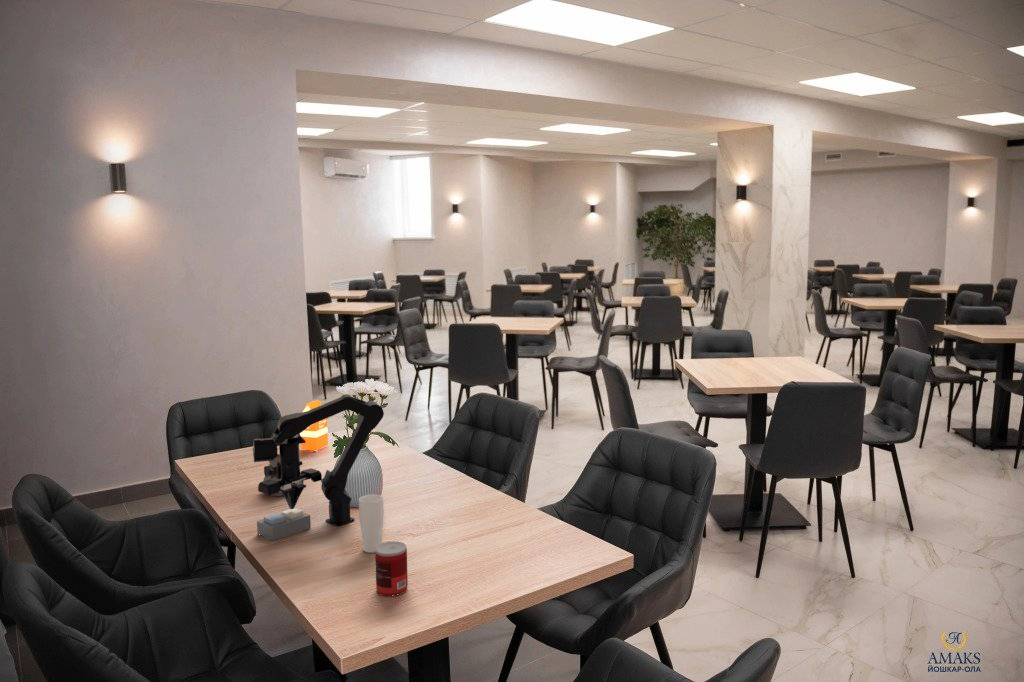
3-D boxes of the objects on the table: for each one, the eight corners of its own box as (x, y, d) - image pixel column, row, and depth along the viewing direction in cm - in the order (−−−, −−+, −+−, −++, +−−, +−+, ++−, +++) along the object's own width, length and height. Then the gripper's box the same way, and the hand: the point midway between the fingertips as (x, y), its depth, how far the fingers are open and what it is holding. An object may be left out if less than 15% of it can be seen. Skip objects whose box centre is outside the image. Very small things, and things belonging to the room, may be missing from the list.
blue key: (286, 529, 224) (285, 516, 224) (273, 533, 221) (272, 520, 220) (277, 525, 227) (277, 513, 226) (264, 530, 224) (263, 517, 223)
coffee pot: (258, 491, 263) (256, 449, 261) (291, 485, 269) (289, 444, 267) (272, 509, 245) (270, 464, 243) (307, 503, 251) (306, 459, 249)
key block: (310, 527, 229) (310, 515, 228) (272, 540, 219) (272, 527, 218) (295, 521, 234) (294, 509, 233) (257, 534, 224) (256, 521, 223)
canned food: (409, 582, 192) (408, 540, 190) (405, 596, 184) (404, 553, 182) (378, 582, 191) (377, 541, 190) (374, 597, 183) (372, 554, 182)
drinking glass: (379, 555, 208) (377, 502, 206) (356, 553, 209) (354, 501, 207) (388, 546, 215) (386, 494, 213) (365, 544, 216) (364, 493, 214)
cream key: (303, 523, 229) (302, 511, 228) (290, 527, 225) (290, 515, 225) (294, 520, 231) (294, 507, 231) (282, 524, 228) (281, 511, 228)
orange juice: (300, 450, 315) (298, 403, 312) (312, 445, 323) (310, 399, 321) (316, 451, 312) (315, 404, 310) (328, 446, 321) (326, 400, 318)
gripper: (300, 447, 238) (302, 495, 240) (246, 460, 224) (249, 511, 226) (322, 453, 231) (323, 502, 233) (267, 467, 217) (270, 519, 219)
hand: (291, 508), depth 228 cm, fingers closed
